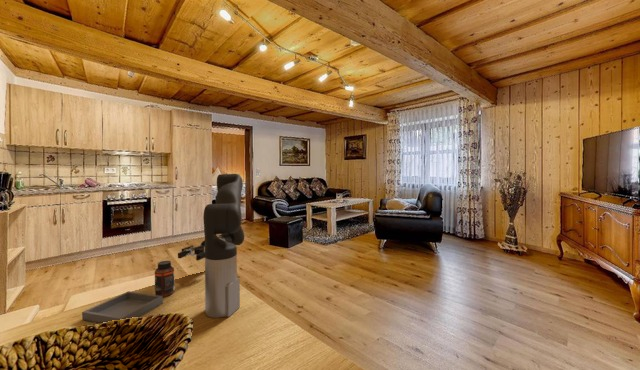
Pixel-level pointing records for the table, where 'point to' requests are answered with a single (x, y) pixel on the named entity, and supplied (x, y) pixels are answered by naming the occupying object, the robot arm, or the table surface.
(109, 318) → the tray
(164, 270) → the supplement bottle
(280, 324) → the table surface
